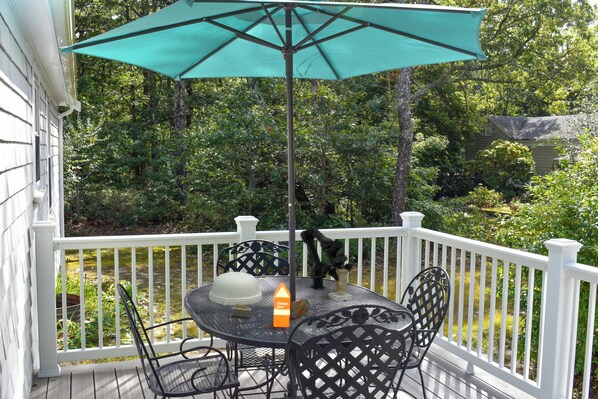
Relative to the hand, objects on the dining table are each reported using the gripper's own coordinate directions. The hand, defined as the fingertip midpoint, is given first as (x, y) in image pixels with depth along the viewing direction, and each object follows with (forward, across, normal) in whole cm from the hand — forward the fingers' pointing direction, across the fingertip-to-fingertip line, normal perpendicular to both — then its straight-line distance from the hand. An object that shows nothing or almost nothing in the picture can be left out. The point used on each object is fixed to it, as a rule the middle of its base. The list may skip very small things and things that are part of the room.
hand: (342, 280), depth 324 cm
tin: (+21, -38, -6) cm, 44 cm away
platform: (+14, -65, +2) cm, 67 cm away
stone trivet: (+7, 0, +9) cm, 11 cm away
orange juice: (+27, -52, -12) cm, 60 cm away
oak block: (+4, 0, +6) cm, 7 cm away
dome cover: (-9, -56, +25) cm, 62 cm away
